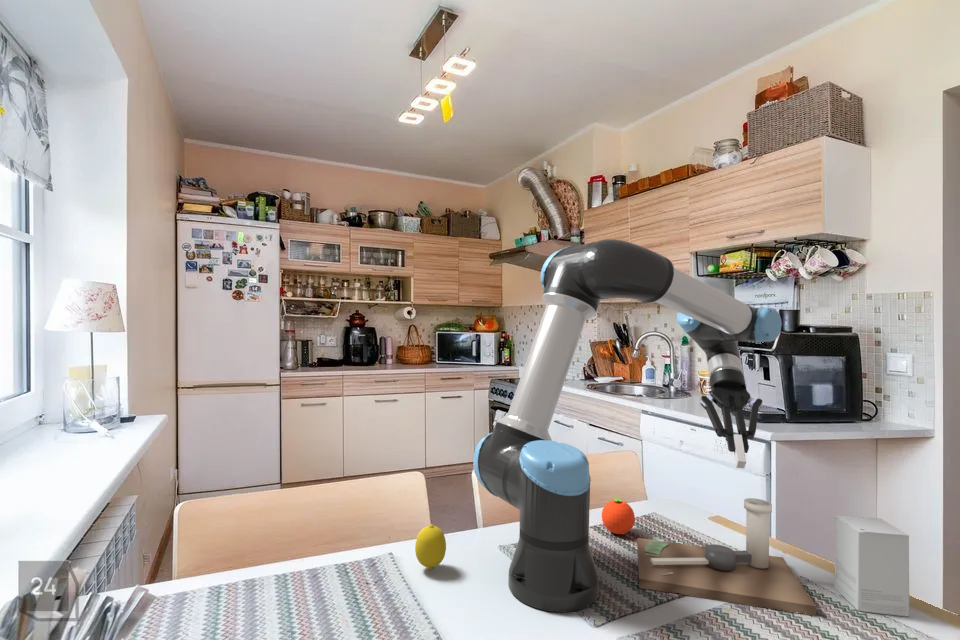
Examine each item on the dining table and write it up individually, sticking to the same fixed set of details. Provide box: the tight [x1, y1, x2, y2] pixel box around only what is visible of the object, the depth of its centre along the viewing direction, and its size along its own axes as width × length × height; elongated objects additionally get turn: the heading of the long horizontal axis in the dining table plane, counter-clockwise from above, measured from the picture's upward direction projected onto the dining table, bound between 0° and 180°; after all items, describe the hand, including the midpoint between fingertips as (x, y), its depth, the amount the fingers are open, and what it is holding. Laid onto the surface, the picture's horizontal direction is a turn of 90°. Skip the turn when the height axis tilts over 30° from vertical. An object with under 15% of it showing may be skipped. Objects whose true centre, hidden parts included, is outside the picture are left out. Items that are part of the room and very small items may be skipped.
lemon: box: [414, 523, 447, 570], centre depth 88 cm, size 6×6×8 cm
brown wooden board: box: [636, 537, 817, 616], centre depth 87 cm, size 26×17×2 cm, turn 73°
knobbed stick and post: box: [651, 497, 773, 571], centre depth 88 cm, size 22×5×11 cm, turn 93°
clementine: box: [601, 498, 636, 535], centre depth 106 cm, size 8×7×7 cm
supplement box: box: [834, 515, 910, 617], centre depth 80 cm, size 7×7×13 cm
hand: (741, 464), depth 102 cm, fingers closed
